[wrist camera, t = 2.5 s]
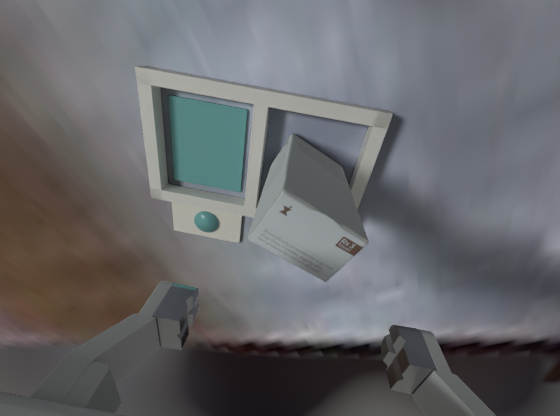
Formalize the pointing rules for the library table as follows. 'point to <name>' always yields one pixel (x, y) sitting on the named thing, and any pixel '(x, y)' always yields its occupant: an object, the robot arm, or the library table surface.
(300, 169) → the skincare box
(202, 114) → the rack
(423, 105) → the library table surface
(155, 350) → the robot arm
